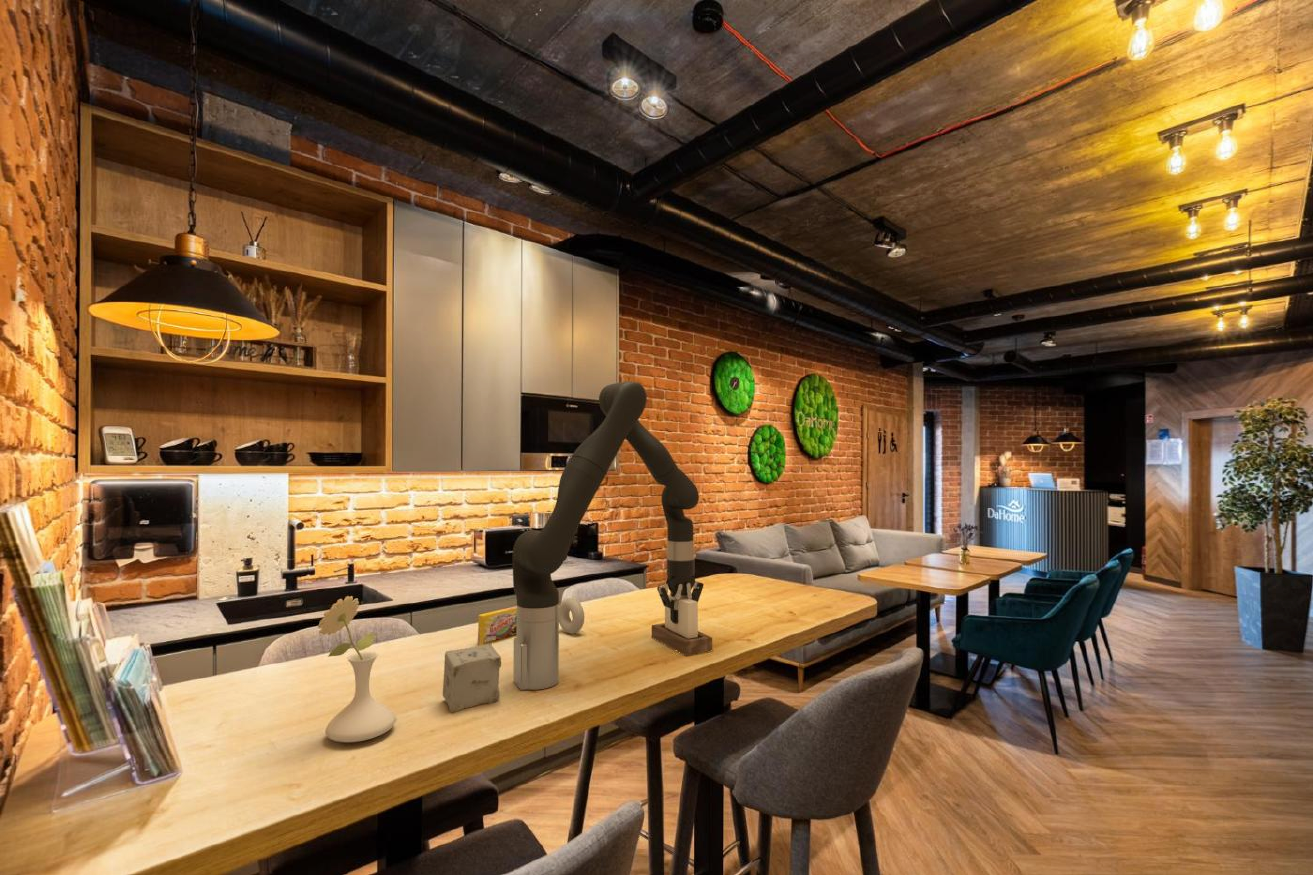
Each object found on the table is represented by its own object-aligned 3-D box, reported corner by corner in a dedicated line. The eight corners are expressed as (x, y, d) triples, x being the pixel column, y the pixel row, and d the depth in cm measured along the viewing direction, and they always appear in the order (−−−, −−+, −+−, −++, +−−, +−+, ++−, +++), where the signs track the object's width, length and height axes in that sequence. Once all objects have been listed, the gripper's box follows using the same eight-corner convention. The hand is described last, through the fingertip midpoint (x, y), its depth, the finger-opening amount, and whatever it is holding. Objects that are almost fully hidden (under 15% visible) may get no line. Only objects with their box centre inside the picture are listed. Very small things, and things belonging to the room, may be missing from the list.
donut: (587, 635, 166) (587, 599, 167) (577, 638, 164) (577, 601, 164) (564, 629, 173) (564, 594, 173) (555, 631, 170) (555, 596, 171)
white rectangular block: (688, 638, 152) (687, 603, 153) (664, 627, 163) (664, 594, 163) (697, 636, 154) (697, 601, 154) (674, 625, 164) (674, 593, 164)
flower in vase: (378, 715, 114) (380, 584, 115) (408, 732, 107) (410, 592, 108) (303, 739, 104) (307, 596, 105) (331, 760, 97) (334, 605, 98)
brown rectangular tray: (685, 656, 148) (685, 642, 148) (651, 637, 164) (651, 625, 164) (712, 651, 152) (712, 637, 152) (676, 633, 168) (676, 621, 168)
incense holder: (452, 715, 114) (452, 661, 114) (441, 701, 121) (442, 649, 121) (502, 704, 119) (502, 652, 119) (489, 690, 126) (489, 641, 126)
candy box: (481, 647, 156) (482, 615, 156) (476, 646, 157) (477, 614, 158) (529, 633, 169) (529, 604, 169) (524, 632, 170) (524, 603, 170)
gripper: (664, 561, 152) (665, 629, 152) (710, 557, 159) (710, 621, 158) (650, 557, 159) (651, 622, 158) (694, 553, 166) (695, 615, 165)
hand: (680, 621), depth 158 cm, fingers closed on white rectangular block, 3 cm apart
